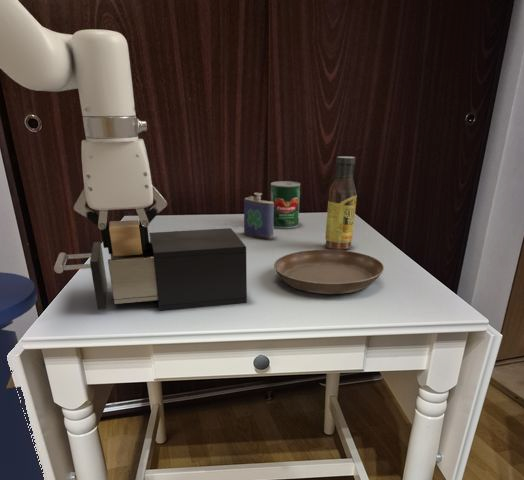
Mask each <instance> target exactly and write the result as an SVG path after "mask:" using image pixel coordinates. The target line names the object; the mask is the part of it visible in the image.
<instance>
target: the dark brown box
mask: <svg viewBox="0 0 524 480" xmlns="http://www.w3.org/2000/svg"><path fill="white" fill-rule="evenodd" d="M148 236H149V242H150V241H151V246H152V251H153V256H154V265H155V274H156V284H157V294H158V300H157V305H158V310H159V311H160V312H161V311H162V312H163V311H171V310H181V309H192V308H193V309H194V308H203V307H215V306H225V305H235V304H246V303H247V302H248V284H247V283H248V280H247V277H248V276H247V273H248V272H247V246H246V245H245V243H244V242H243V241H242V240H241V239H240V237H239V236H238V235H237V234H236V233H235V231H234V230H233V229H232V228H231V227H227V228H226V227H225V228H211V229H191V230H174V231H156V232H148Z"/></svg>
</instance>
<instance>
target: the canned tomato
mask: <svg viewBox="0 0 524 480" xmlns="http://www.w3.org/2000/svg"><path fill="white" fill-rule="evenodd" d="M300 198H301V182H298V181H292V180H291V181H289V180H279V181H272V182H270V201H272V202H274V218H273V229H295V228H298V227H299V226H300V225H299V220H300Z"/></svg>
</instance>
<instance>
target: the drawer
mask: <svg viewBox="0 0 524 480" xmlns="http://www.w3.org/2000/svg"><path fill="white" fill-rule="evenodd" d="M145 248H146V252H143V251H142V254H141V255H127V256H113V253H112V254H110V258H108V259H107V264H108V265H107V266H108V271H109V278H110V284H111V291H112V298H113V304H115V305H119V304H121V305H122V304H131V303H142V302H153V301H154V302H155V301H158V294H157V284H156V274H155V265H154V256H153V251H152V246H151V241H150V240H149V245H145ZM88 258H89V259H90V260H89V263H81V264H68V265H67V261H68V260H75V259H76V260H77V259H88ZM55 261H56V262H55V264H54V266H53V270H54V272H55V273H57V274H62V273H63V272H64V271H72V270H85V269H87V270H88V269H90V271H91V276H92V277H91V278H92V284H93V288H94V289H93V290H94V294H95V295H94V296H95V302H96V307H97V310H105V309H106V308H107V295H108V280H107V274H106V268H105V261H104V254H103V248H102V242H101V241H93V244H92V248H91V253H88V252H87V253H74V254H73V253H72V254H67V253H66V252H64V251H63V252H60V253H59V254H58V256H57V259H56V260H55Z"/></svg>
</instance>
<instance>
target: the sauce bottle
mask: <svg viewBox="0 0 524 480" xmlns="http://www.w3.org/2000/svg"><path fill="white" fill-rule="evenodd" d="M355 165H356V157H355V156H347V155H346V156H336V172H335V179H334V181H333V183H332V184H331V186H330V188H329V193H328V200H327V214H326V225H325V247H326V248H327V249H328V250H343V251H346V250H348V249H350V248H351V247H352V242H353V237H354V235H353V234H354V227H355V217H356V208H357V197H358V195H357V191H356V185H355V182H354V168H355Z"/></svg>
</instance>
